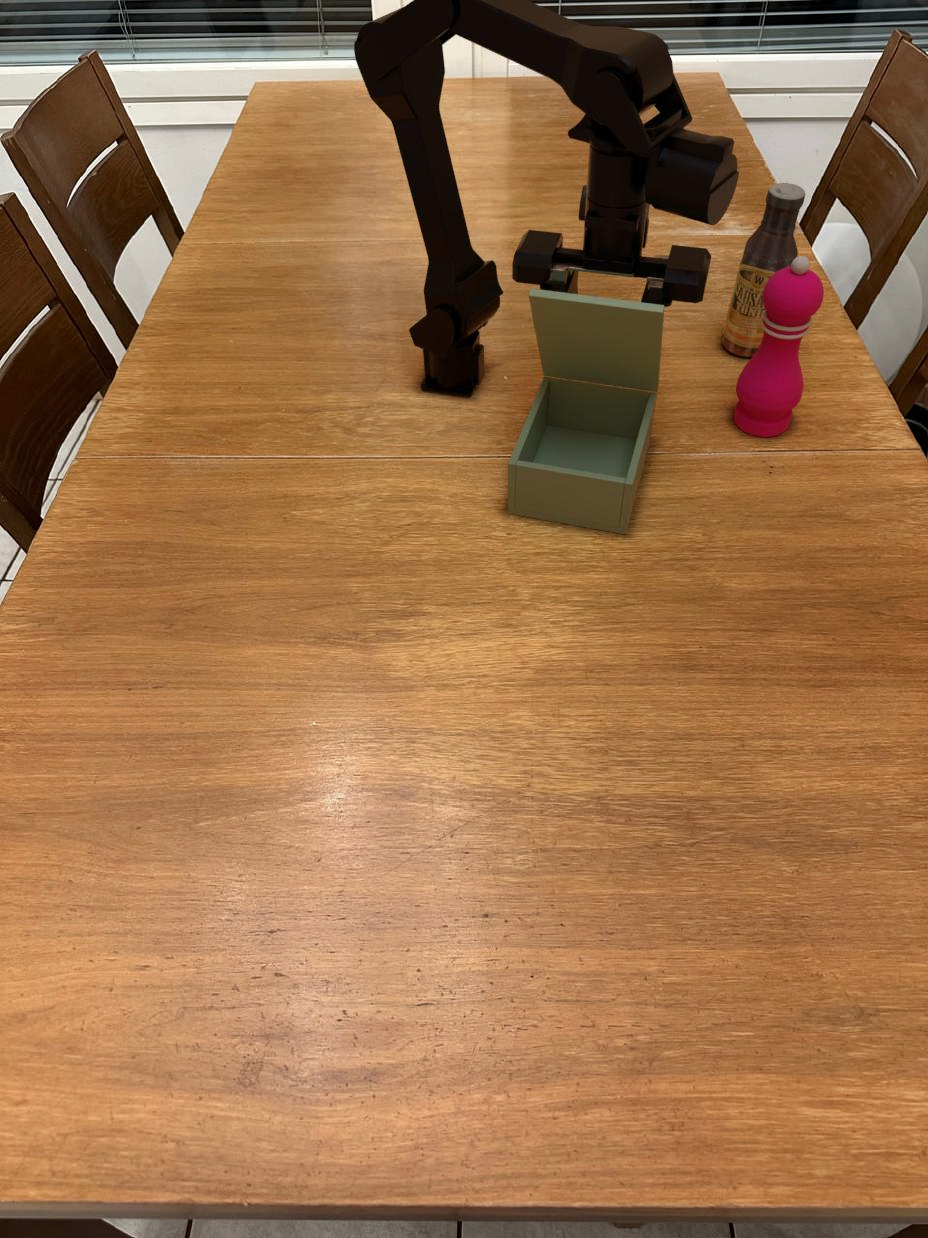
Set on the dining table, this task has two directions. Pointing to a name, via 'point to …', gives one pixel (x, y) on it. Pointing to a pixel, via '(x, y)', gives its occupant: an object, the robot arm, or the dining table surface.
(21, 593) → the dining table surface
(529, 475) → the green box
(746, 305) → the sauce bottle
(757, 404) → the pepper mill
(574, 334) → the lid
